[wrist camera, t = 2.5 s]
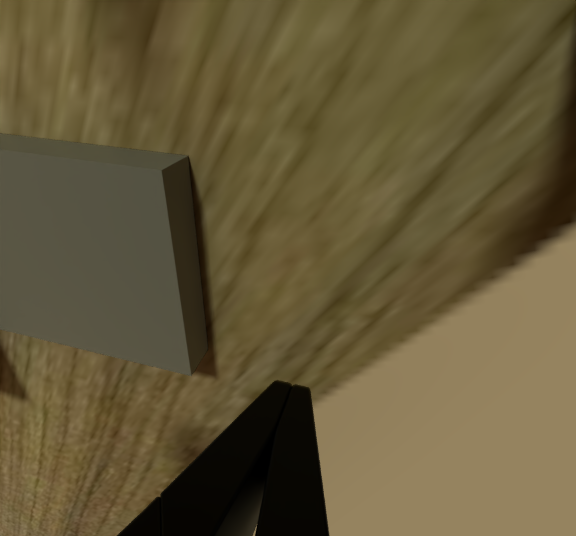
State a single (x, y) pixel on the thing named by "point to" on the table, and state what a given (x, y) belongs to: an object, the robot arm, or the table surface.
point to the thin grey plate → (101, 251)
